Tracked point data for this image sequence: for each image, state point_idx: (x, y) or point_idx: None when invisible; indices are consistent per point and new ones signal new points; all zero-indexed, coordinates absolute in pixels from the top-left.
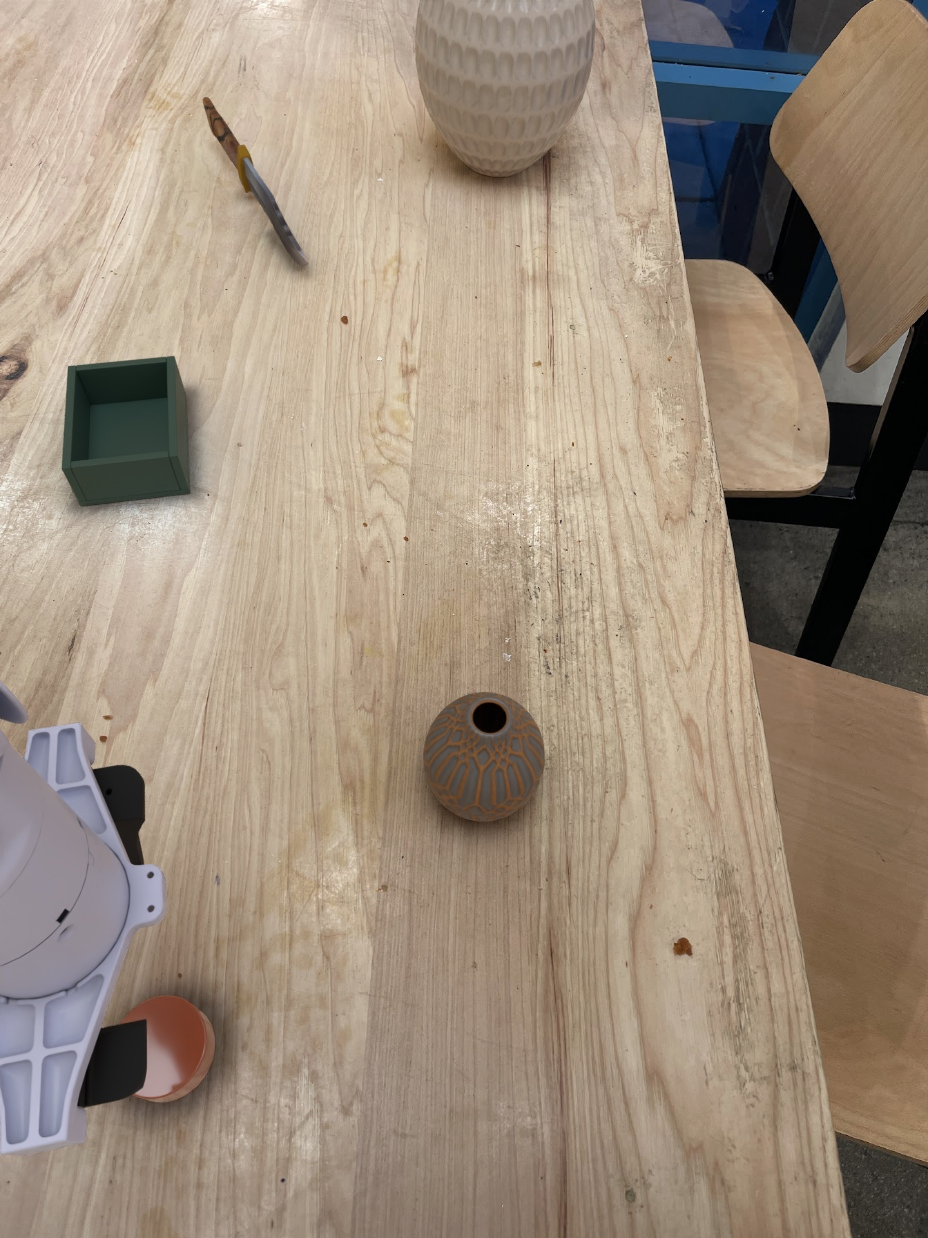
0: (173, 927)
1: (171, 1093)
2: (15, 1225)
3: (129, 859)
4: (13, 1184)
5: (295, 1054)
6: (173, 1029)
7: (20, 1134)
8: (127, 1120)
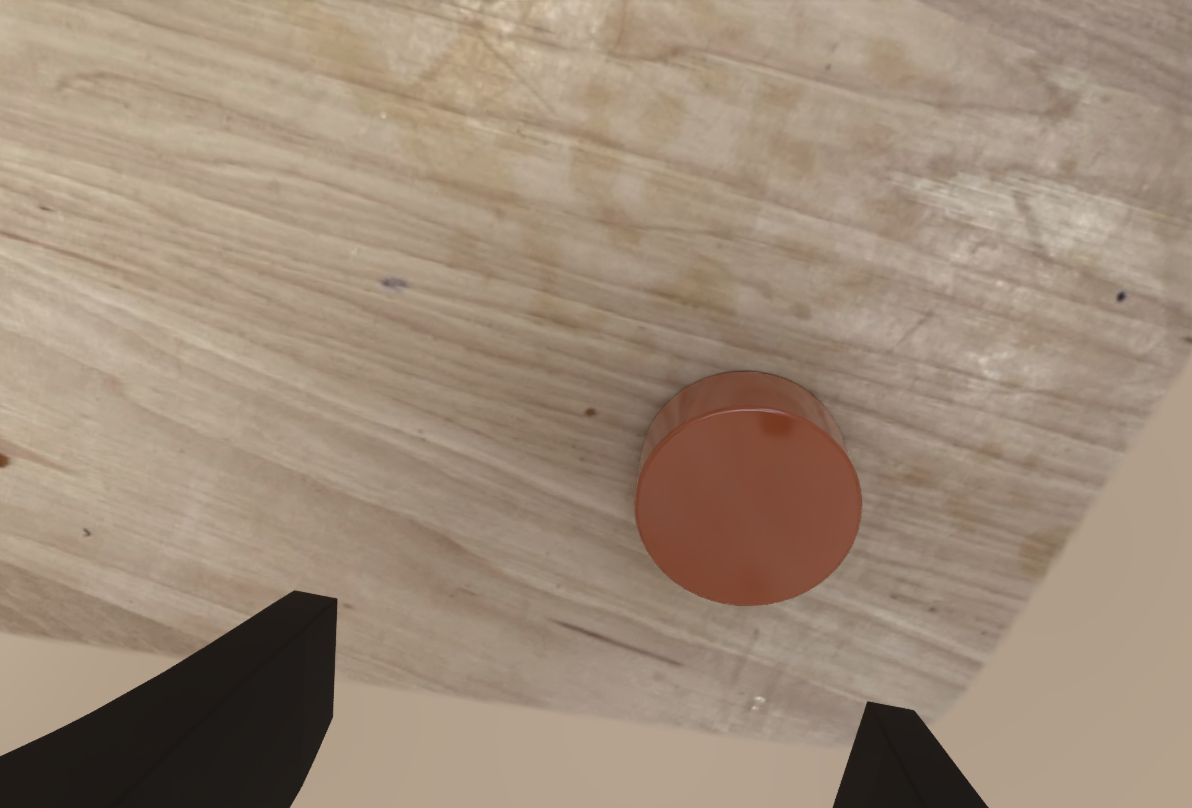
0: (479, 404)
1: (861, 507)
2: None
3: (217, 740)
4: None
5: (872, 199)
6: (724, 474)
7: None
8: None
